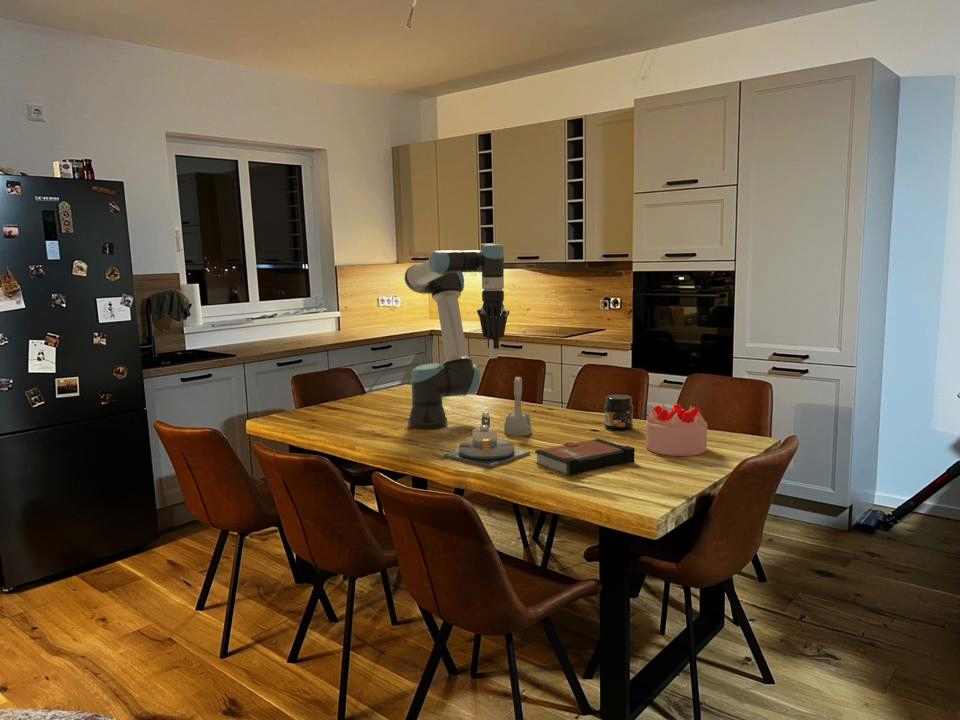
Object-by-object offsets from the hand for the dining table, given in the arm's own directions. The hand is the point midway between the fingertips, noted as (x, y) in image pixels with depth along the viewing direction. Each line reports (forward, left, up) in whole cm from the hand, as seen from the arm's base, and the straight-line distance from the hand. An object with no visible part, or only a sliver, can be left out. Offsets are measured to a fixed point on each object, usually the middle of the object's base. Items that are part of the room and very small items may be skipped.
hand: (493, 357), depth 253 cm
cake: (+55, +29, -30) cm, 69 cm away
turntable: (+11, -17, -28) cm, 35 cm away
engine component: (-1, +15, -30) cm, 33 cm away
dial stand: (+4, -10, -28) cm, 30 cm away
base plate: (+11, -17, -29) cm, 36 cm away
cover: (+11, -17, -26) cm, 33 cm away
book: (+40, -4, -30) cm, 50 cm away
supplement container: (+25, +43, -30) cm, 58 cm away
